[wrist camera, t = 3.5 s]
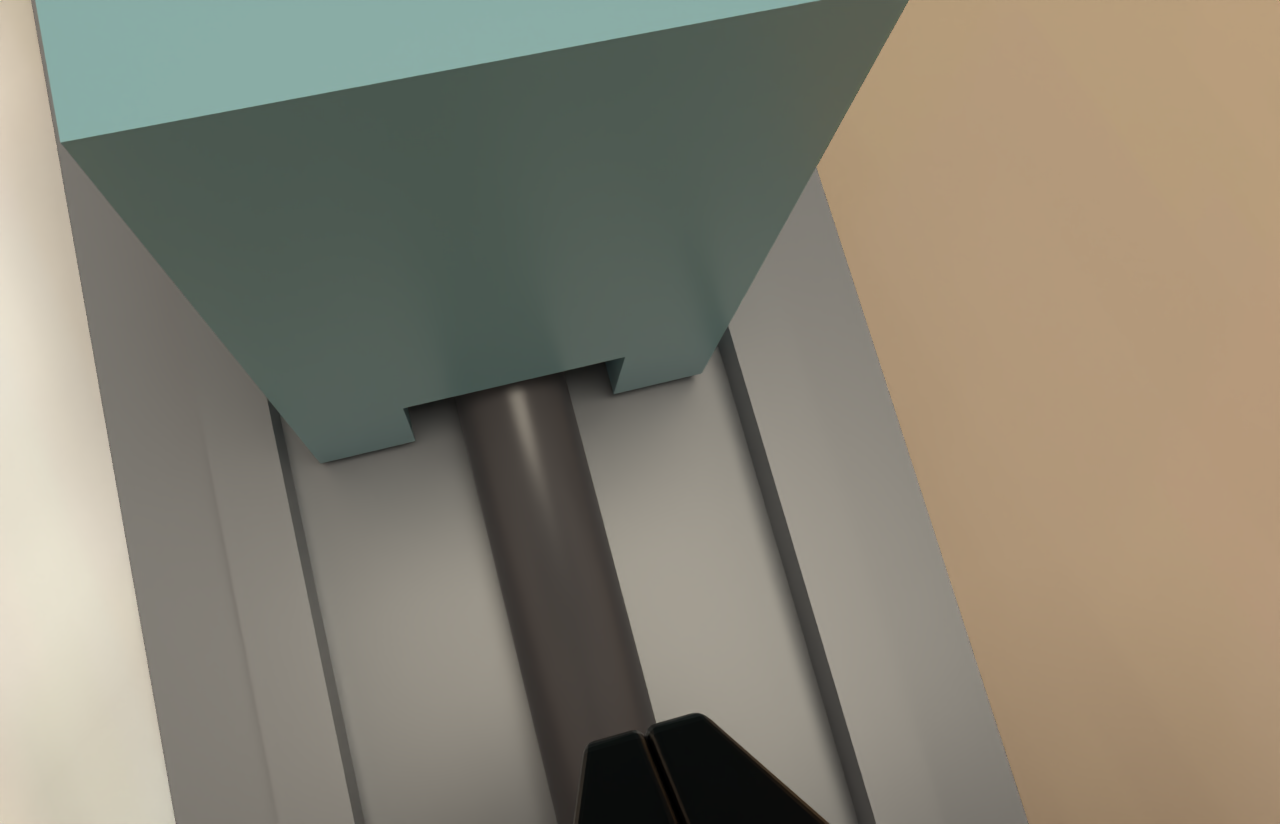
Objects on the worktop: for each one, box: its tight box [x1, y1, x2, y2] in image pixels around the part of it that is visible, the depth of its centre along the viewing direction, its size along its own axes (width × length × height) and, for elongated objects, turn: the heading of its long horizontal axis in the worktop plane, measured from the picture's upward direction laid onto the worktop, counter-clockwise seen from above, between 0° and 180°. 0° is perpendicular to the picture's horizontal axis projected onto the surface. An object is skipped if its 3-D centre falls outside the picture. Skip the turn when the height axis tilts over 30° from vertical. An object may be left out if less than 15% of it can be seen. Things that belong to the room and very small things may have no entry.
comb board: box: [31, 0, 1028, 824], centre depth 14 cm, size 26×10×6 cm, turn 15°
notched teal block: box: [35, 0, 909, 464], centre depth 12 cm, size 6×5×9 cm
